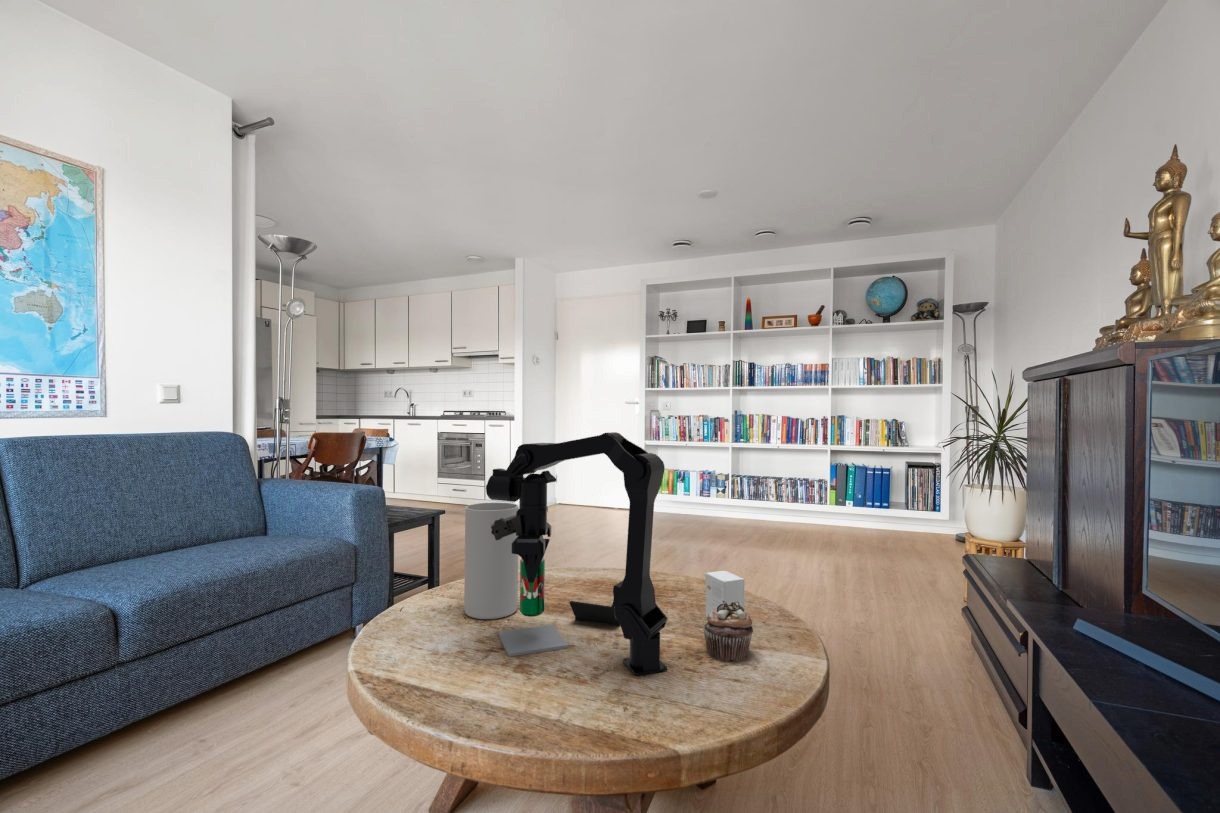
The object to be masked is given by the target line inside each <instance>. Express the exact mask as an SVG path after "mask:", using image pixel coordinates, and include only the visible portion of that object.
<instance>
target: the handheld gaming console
mask: <svg viewBox="0 0 1220 813" xmlns="http://www.w3.org/2000/svg"><path fill="white" fill-rule="evenodd" d="M569 604H570V608H571V610H572V613H573V615H574V618H575V619H574V620H575V621H578V622H587V623H593V624H598V625H599V624H600V625H607V626H613V627H620V628H621V625H620V623H619V621H618V620H617V619H616V618H615V614H614V608H615V607H614V608H611V606H612V605H611V606H610V605H604V604H603V605H602V604H596V603H588V602H582V601H573V600H569Z"/></svg>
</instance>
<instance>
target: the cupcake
mask: <svg viewBox="0 0 1220 813" xmlns="http://www.w3.org/2000/svg"><path fill="white" fill-rule="evenodd" d="M706 619H707V620H706V621H707V622H705V623H704V624H703V626H702V630H703V635H704V641H705V646H706V653H707V654H708V655H709V656H710V657H711V658H713V659H716V660H719V659H720V660H719V661H722V660H726V661H725V662H731V661H730V660H733V661H732V662H735V661H734V660H739V661H741V659H743V660H745V659H746V658H747V657H746V656H748V654H749V651H750V650H749V649H750V645H751V641H752V640H751V639H752V635H753V633H754V629H753V626H752V625H753V620H752V619H751V617H750V616H749V614H748V613H747V612H746V611H745V612H744V608H743V607H742V605H741V604H740V603H739V601H737V602H732V603H731V604H730V605H728V604H727V603H726V602H725V601H722V603H721V604H720V605H718V606H717V607H716V609H715V610H714V611H713V612H711V613H710V614H708V617H707V618H706ZM745 657H746V658H745ZM744 658H745V659H744Z"/></svg>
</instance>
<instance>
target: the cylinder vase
mask: <svg viewBox="0 0 1220 813" xmlns="http://www.w3.org/2000/svg"><path fill="white" fill-rule="evenodd" d="M464 507H465V509H464V511H465V512H464V513H465V516H464V518H465V520H464V521H465V522H464V524H465V525H464V583H463V584H464V593H463V594H464V597H463V598H464V604H463V606H464V607H463V608H464V609H463V610H464V613H465V614H466V615H467V616H468V617H470V618H473V619H477V620H497V619H503V618H506V617H509V616H510V615H513V614H514V613H515V612H516V611H517V610H518V607H519V606H518V605H519V603H518V602H519V601H518V600H519V598H518V596H519V555H518V554H512V543H513V541H514V540H515V539H516V538H517V537H518V536H516V532H515V533H513V534H511V535H508V536H505V537H502V539H500V540H495V537H494V535H493V534H492V533H491V531H492V529H491V525H492V524H493V523H494V521H495V520H499V519H501V518H504V519H505V518H508V517H511V516H514V515H516V512H517V511H518V509H519V504H517V503H511V502H499V501H498V502H482V503H481V502H478V503H473V504H468V505H466V506H464Z"/></svg>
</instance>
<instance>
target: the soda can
mask: <svg viewBox="0 0 1220 813" xmlns="http://www.w3.org/2000/svg"><path fill="white" fill-rule="evenodd" d="M519 562H520V563H519V564H520V565H519V566H520V567H519V571H520V572H519V573H520V575H519V612H520V614H522V616H524V617H528V618H529V617H530V618H531V617H538V616H541V615H543V613H544V612H545V603H546V602H545V596H546V594H545V593H546V592H545V587H546V586H545V582H546V581H545V580H546V579H545V572H546V569H545V568H546V560H545V558H544V557H543V559H542V561H541V564H540V567H539V569H538V572H537V575H536V578H535V580H534V582H533V583H529V582H528V579H527V574H526V570H525V566H524V562H523V559H522V558H521V559H520V560H519Z"/></svg>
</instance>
